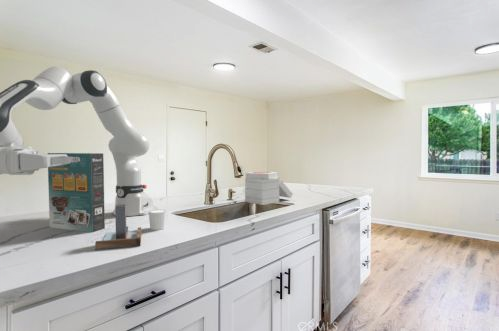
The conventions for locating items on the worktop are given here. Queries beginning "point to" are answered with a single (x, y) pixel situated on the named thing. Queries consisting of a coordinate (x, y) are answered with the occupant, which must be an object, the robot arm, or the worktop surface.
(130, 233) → the mat
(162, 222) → the white cylinder
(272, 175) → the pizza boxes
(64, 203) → the cake mix box
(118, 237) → the bracket
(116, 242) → the corner walls
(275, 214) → the worktop surface
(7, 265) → the worktop surface
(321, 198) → the worktop surface
